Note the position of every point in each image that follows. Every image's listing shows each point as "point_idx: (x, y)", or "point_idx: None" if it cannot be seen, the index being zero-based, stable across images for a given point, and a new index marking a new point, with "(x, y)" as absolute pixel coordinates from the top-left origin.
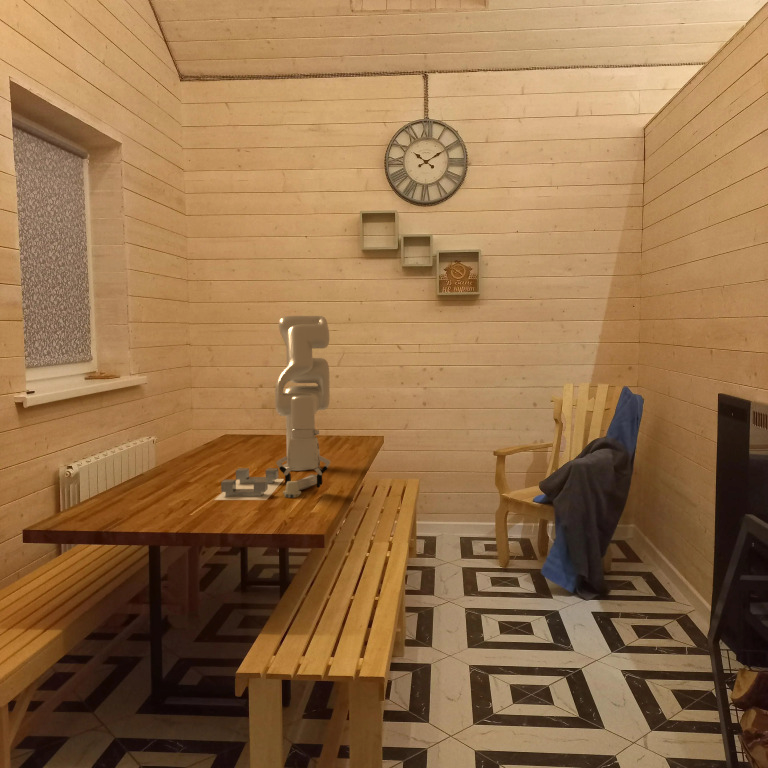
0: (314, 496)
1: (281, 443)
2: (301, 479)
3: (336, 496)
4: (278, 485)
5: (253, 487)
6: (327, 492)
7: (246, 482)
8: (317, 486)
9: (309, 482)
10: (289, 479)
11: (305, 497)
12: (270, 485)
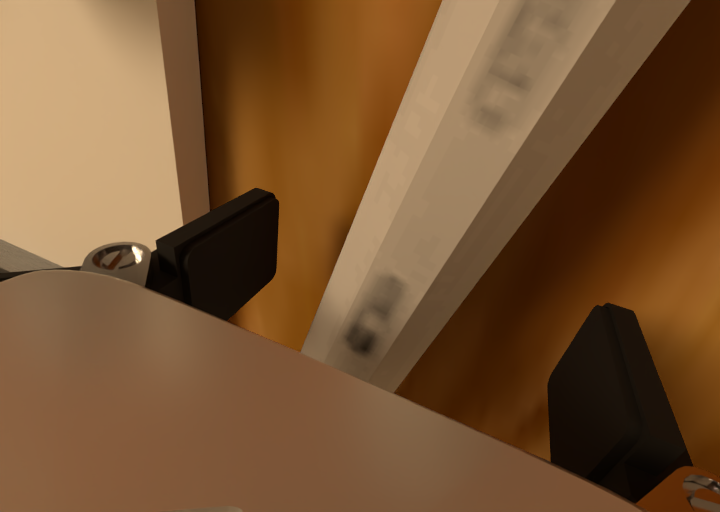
0: (503, 372)
1: None
2: (357, 339)
3: (716, 454)
4: (158, 34)
5: (10, 86)
6: (704, 288)
7: None
8: (553, 390)
9: (480, 274)
10: (228, 301)
11: (425, 368)
12: (89, 18)
